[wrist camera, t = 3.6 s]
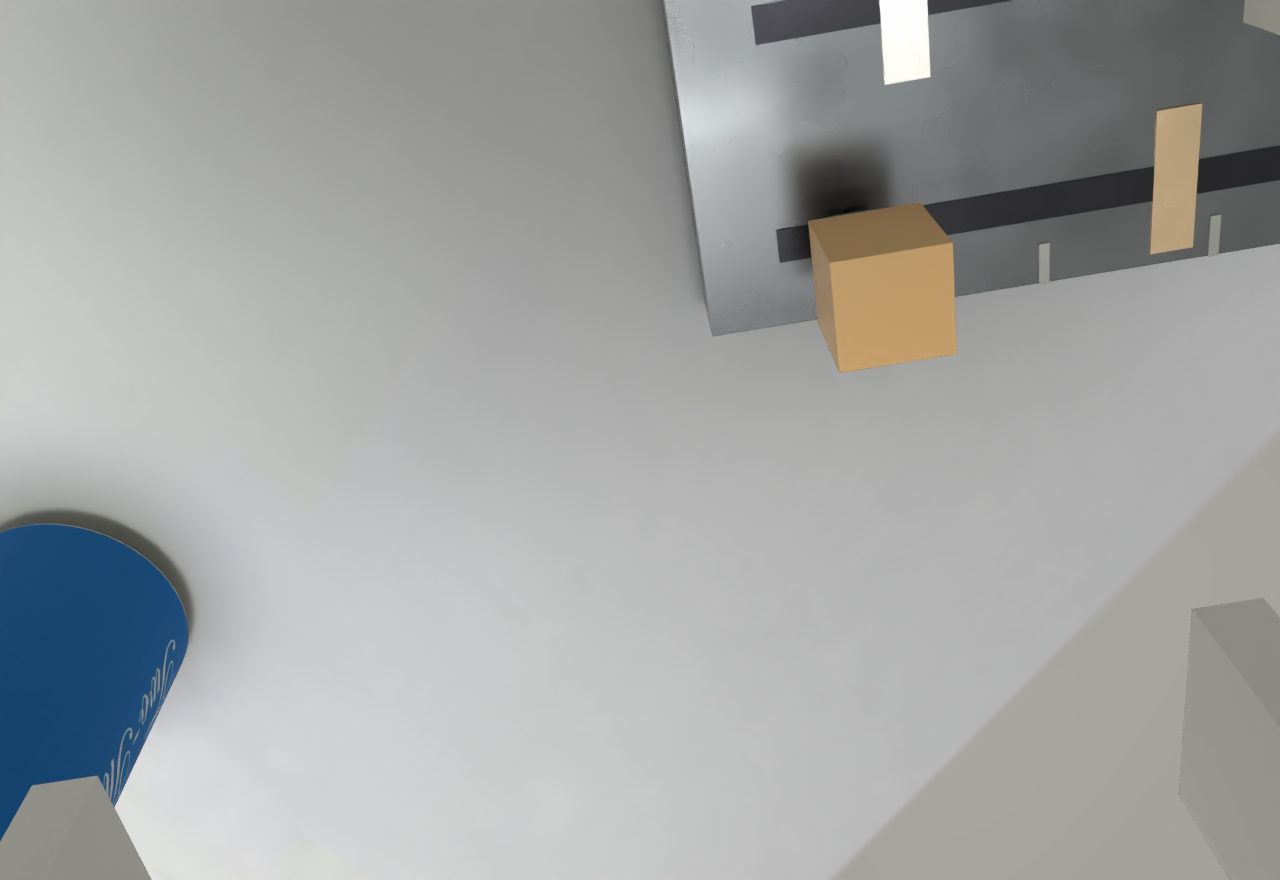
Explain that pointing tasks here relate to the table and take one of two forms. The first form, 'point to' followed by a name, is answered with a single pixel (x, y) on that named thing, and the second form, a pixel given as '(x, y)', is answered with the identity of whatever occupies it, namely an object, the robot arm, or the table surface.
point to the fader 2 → (1263, 14)
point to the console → (971, 135)
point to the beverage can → (80, 657)
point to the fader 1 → (883, 286)
